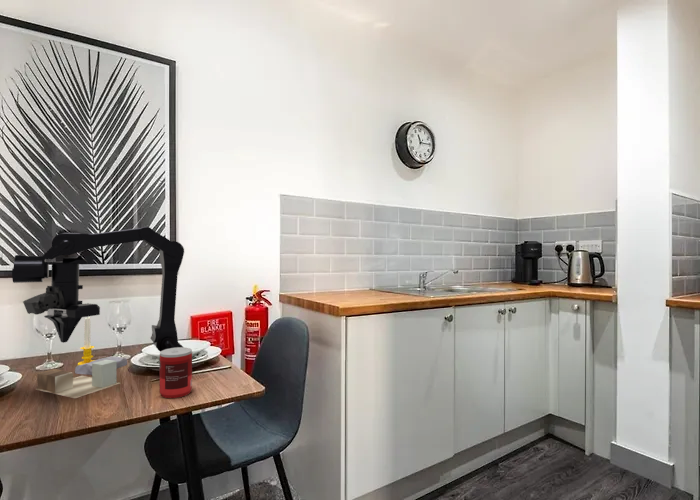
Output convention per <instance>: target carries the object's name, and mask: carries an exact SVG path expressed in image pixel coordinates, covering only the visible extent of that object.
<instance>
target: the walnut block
mask: <svg viewBox="0 0 700 500" xmlns="http://www.w3.org/2000/svg"><path fill="white" fill-rule="evenodd" d="M36 374H37V375H36V377H37V379H36V380H37V381H36V383H37V384H36V385H37V386H36V389H42V390H46V391H50V392H55V393H58V392H61V391H64V390H67V389H71V388H73V378H74V372H71V371H66V370H63V369H62V370H61V369H56V368H53V369H48V370H44V371H41V372H37V373H36Z"/></svg>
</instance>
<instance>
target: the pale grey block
mask: <svg viewBox="0 0 700 500" xmlns="http://www.w3.org/2000/svg"><path fill="white" fill-rule="evenodd" d="M116 363H117V361H113V360H107V359H106V360H103V361H99V362H95V363H92V375H91V377H92V386H96V387H100V388H103V387H106V386H109V385H112V384H115V383H116V382H117V369H116Z"/></svg>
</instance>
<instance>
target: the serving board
mask: <svg viewBox="0 0 700 500" xmlns="http://www.w3.org/2000/svg"><path fill="white" fill-rule="evenodd" d="M119 384H121V382H117V381H116V383H115V384H112V385H109V386H106V387H103V388H100V387H96V386H92V376H86V375H79V376H77V377H76V376H75V377H73V388H71V389H67V390H64V391H61V392H58V393H55V392H50V391H46V390H42V389H37V388H35V390H37V391H41V392H44V393H48V394H49V393H50V394H54V395H59V396H63V397H67V398H71V399H77V398H80V397H83V396H84V397H85V396H86V395H89V394H92V393H96V392H99V391H101V390H105V389H108V388H111V387H114V386H116V385H119Z"/></svg>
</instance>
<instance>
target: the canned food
mask: <svg viewBox="0 0 700 500" xmlns="http://www.w3.org/2000/svg"><path fill="white" fill-rule="evenodd" d="M192 379H193V351H192V348H190V347H184V346H183V347H178V348H169V349H165V350H163V351H161V352H160V351H159V394H160V396H161V397H162V398H165V399H177V398H178V399H179V398H183V397H185V396H188V395H189V394H191V392H192V388H193V387H192V386H193V380H192Z"/></svg>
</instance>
